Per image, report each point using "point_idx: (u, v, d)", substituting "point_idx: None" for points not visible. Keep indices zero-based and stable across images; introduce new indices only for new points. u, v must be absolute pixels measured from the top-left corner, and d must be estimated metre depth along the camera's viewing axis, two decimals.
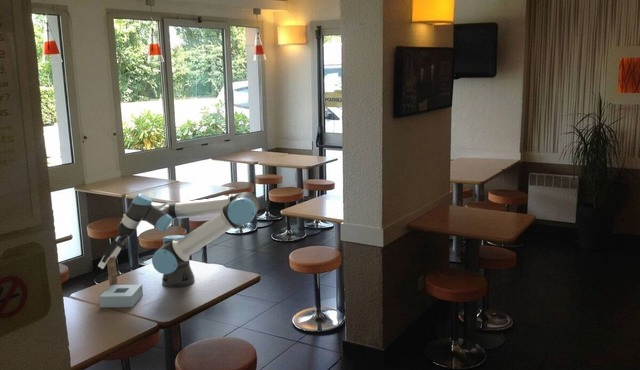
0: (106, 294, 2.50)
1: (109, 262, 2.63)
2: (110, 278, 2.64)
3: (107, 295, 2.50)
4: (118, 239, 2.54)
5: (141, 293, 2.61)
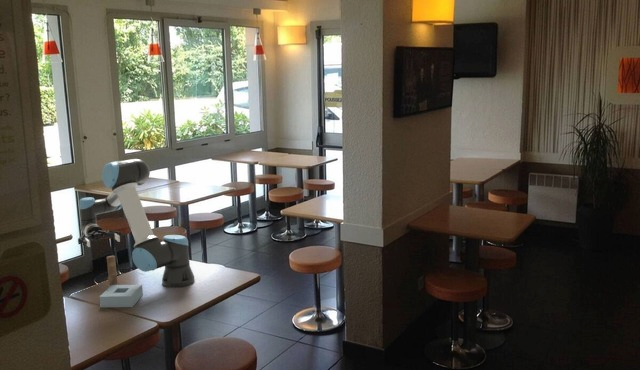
0: (106, 294, 2.50)
1: (109, 262, 2.63)
2: (110, 278, 2.64)
3: (107, 295, 2.50)
4: None
5: (141, 293, 2.61)
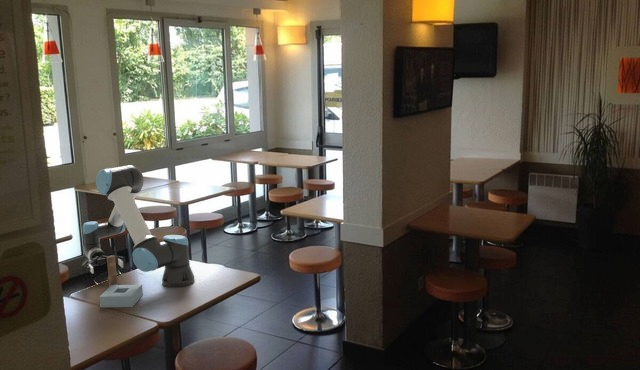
0: (106, 294, 2.50)
1: (109, 262, 2.63)
2: (110, 278, 2.64)
3: (107, 295, 2.50)
4: (85, 260, 2.80)
5: (141, 293, 2.61)
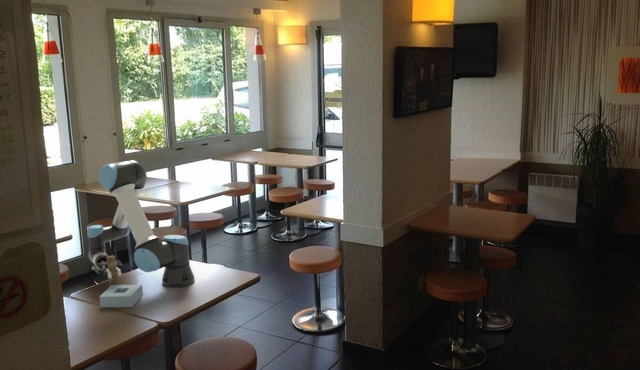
0: (106, 294, 2.50)
1: (109, 262, 2.63)
2: (110, 278, 2.64)
3: (107, 295, 2.50)
4: (92, 266, 2.71)
5: (141, 293, 2.61)
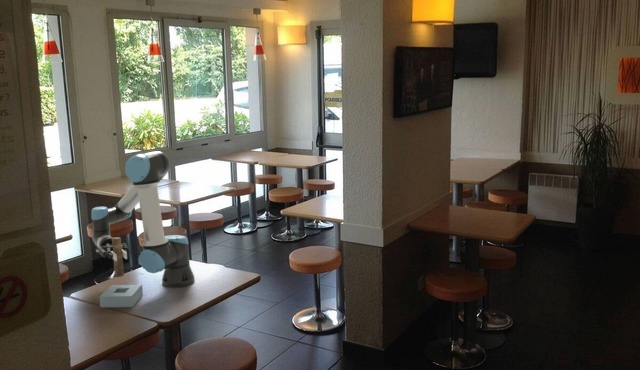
0: (106, 294, 2.50)
1: (114, 244, 2.49)
2: None
3: (107, 295, 2.50)
4: (96, 249, 2.57)
5: (141, 293, 2.61)
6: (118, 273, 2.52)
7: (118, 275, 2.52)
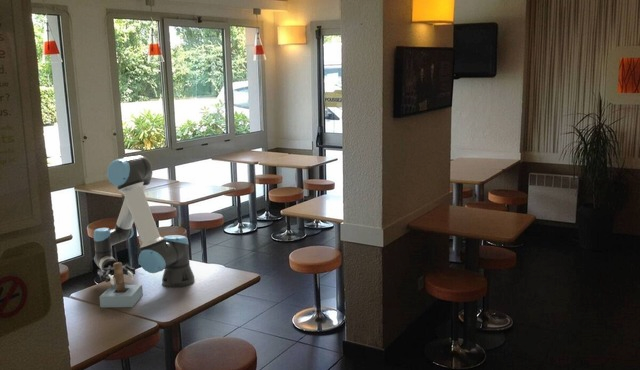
0: (106, 294, 2.50)
1: (116, 269, 2.51)
2: (118, 285, 2.53)
3: (107, 295, 2.50)
4: None
5: (141, 293, 2.61)
6: None
7: None
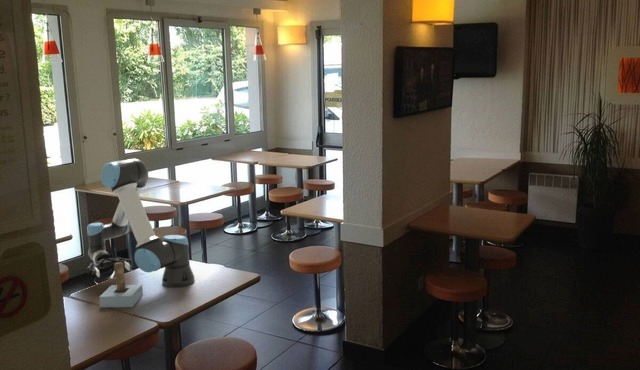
0: (106, 294, 2.50)
1: (117, 269, 2.51)
2: (118, 285, 2.53)
3: (107, 295, 2.50)
4: (90, 263, 2.70)
5: (141, 293, 2.61)
6: None
7: None
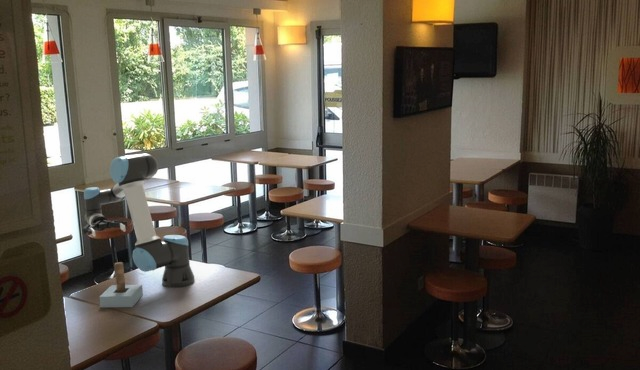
0: (106, 294, 2.50)
1: (117, 269, 2.51)
2: (118, 285, 2.53)
3: (107, 295, 2.50)
4: (86, 225, 2.75)
5: (141, 293, 2.61)
6: None
7: None
